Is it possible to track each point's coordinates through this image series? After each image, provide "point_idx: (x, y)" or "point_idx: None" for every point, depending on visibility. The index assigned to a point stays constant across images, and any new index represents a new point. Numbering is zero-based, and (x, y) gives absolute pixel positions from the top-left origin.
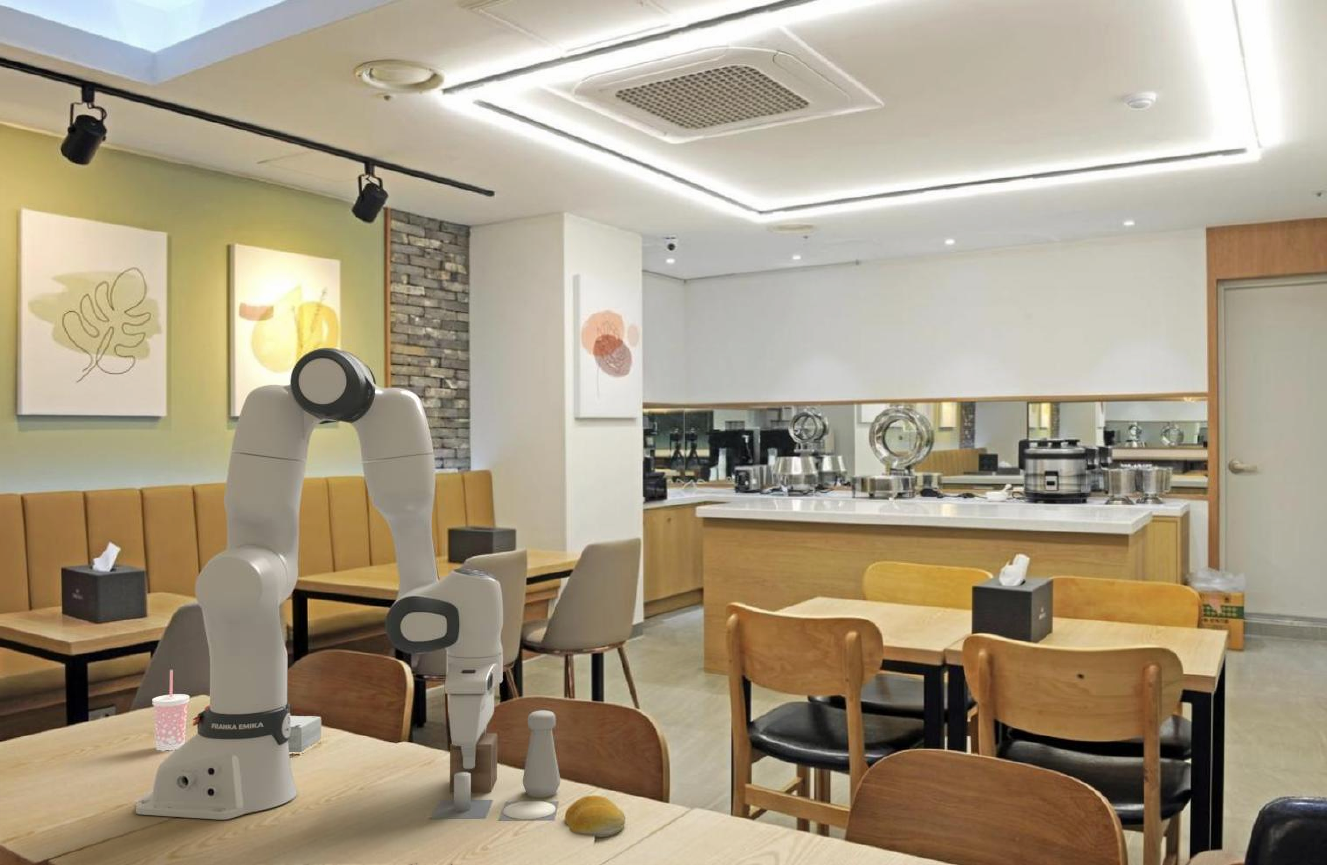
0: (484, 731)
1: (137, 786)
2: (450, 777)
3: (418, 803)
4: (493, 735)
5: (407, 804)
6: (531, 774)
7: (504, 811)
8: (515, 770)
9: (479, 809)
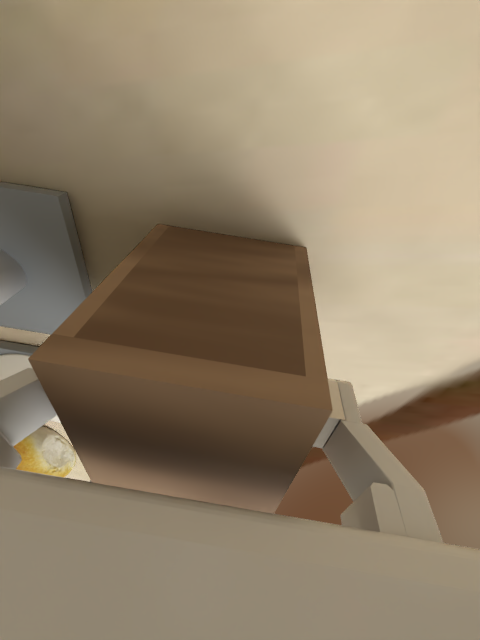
0: (351, 491)
1: None
2: (128, 255)
3: (53, 88)
4: (236, 503)
5: (24, 19)
6: None
7: (13, 356)
8: (373, 394)
9: (16, 310)
